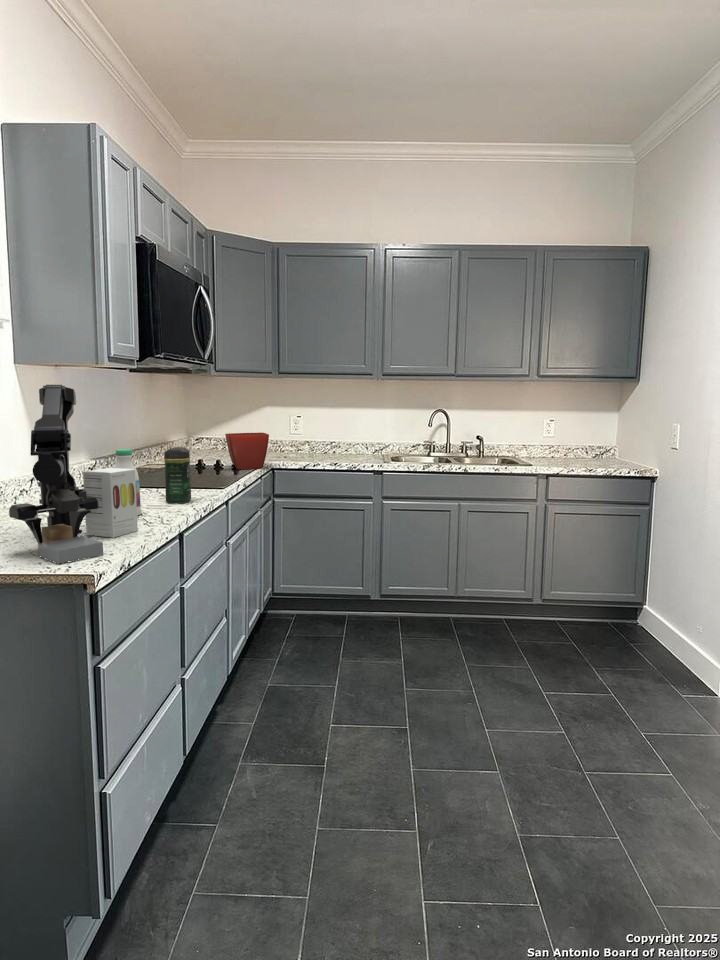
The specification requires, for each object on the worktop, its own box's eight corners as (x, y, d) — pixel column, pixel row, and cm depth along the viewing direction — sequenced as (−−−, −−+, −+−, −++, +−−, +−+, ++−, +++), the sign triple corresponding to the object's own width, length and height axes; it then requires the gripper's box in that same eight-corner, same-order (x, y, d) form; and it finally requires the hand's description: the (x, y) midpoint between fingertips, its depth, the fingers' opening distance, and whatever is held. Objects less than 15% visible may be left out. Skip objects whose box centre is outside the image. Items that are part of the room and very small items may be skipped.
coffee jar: (187, 504, 208) (185, 448, 205) (163, 504, 207) (160, 448, 205) (194, 499, 217) (191, 445, 215) (171, 499, 217) (168, 446, 214)
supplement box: (113, 538, 159) (109, 472, 156) (85, 535, 162) (80, 471, 160) (139, 530, 167) (135, 468, 165) (112, 528, 171) (108, 466, 169)
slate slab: (82, 548, 149) (81, 535, 148) (103, 555, 142) (102, 542, 142) (38, 556, 141) (37, 543, 141) (59, 564, 135) (58, 550, 134)
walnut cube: (63, 543, 154) (62, 523, 153) (73, 546, 150) (72, 526, 150) (43, 547, 150) (41, 527, 149) (52, 550, 147) (50, 530, 146)
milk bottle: (110, 515, 189) (106, 449, 186) (135, 512, 194) (132, 447, 191) (119, 519, 183) (115, 451, 180) (145, 515, 188) (141, 449, 185)
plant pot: (226, 466, 314) (225, 433, 311) (264, 465, 319) (263, 432, 317) (230, 471, 296) (228, 435, 293) (270, 469, 301) (269, 434, 299)
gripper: (26, 485, 136) (31, 555, 138) (107, 476, 150) (111, 540, 152) (5, 481, 143) (11, 547, 145) (85, 473, 157) (89, 533, 159)
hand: (57, 542), depth 150 cm, fingers open, 8 cm apart
